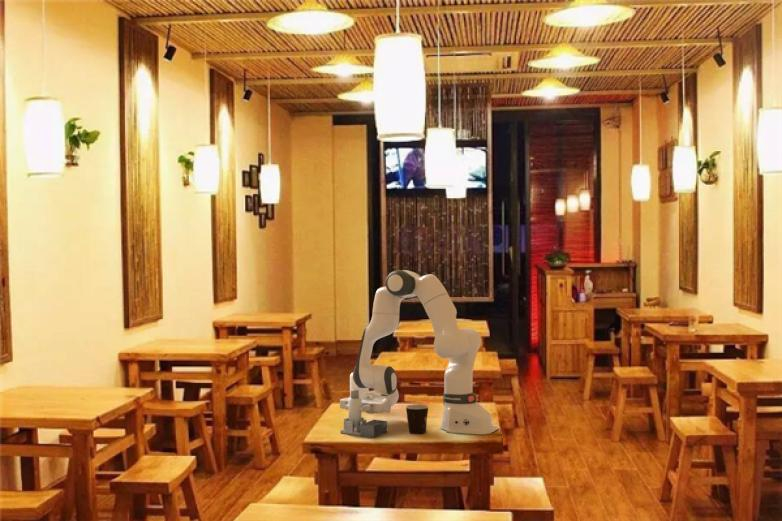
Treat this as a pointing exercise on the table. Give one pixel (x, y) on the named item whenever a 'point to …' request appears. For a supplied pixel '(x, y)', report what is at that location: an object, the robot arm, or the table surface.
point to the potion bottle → (354, 386)
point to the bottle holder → (365, 428)
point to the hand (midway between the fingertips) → (353, 408)
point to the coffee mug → (417, 418)
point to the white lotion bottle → (354, 408)
